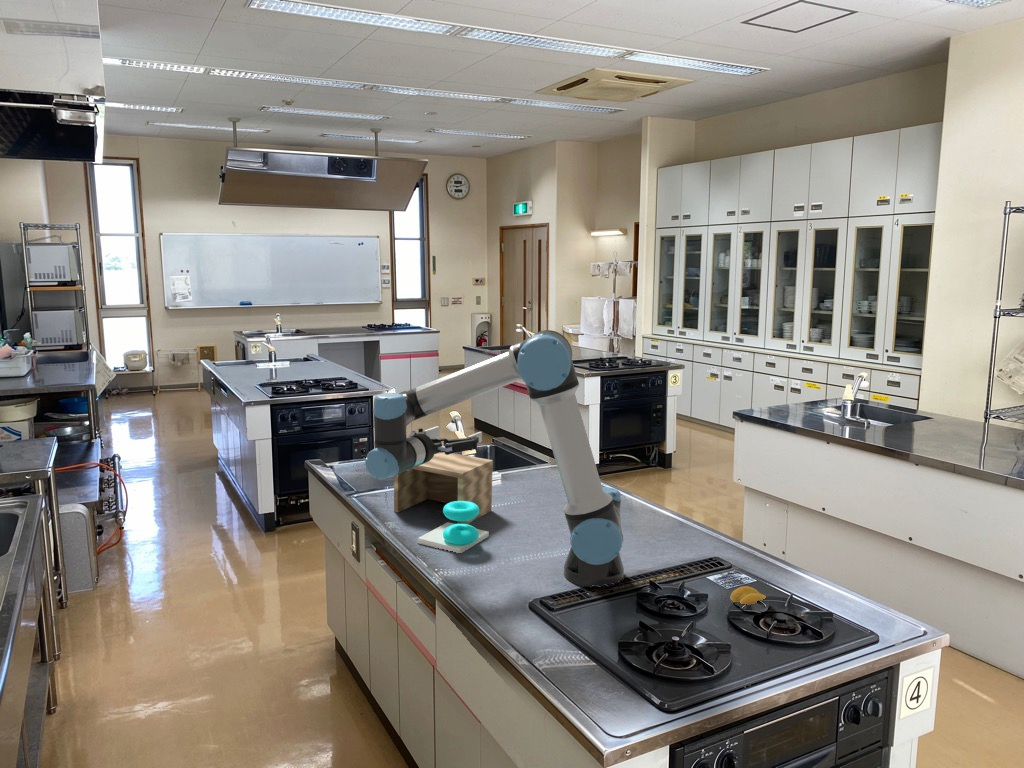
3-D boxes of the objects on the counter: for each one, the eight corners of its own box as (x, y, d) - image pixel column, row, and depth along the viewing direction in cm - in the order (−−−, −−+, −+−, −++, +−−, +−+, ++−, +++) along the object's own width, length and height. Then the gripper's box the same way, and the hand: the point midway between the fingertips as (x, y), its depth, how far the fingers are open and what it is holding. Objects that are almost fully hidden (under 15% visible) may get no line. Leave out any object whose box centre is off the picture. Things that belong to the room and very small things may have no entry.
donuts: (486, 504, 205) (464, 514, 197) (485, 538, 207) (463, 549, 199) (458, 497, 211) (435, 506, 203) (458, 530, 212) (435, 540, 204)
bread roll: (749, 617, 169) (750, 601, 168) (724, 600, 177) (725, 584, 176) (778, 612, 172) (779, 596, 171) (752, 595, 180) (753, 580, 179)
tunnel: (461, 527, 219) (462, 473, 216) (394, 511, 231) (394, 460, 228) (491, 510, 234) (492, 460, 231) (426, 496, 246) (427, 448, 243)
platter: (460, 554, 199) (460, 548, 199) (417, 543, 206) (417, 538, 206) (488, 536, 212) (488, 531, 212) (447, 527, 219) (447, 522, 219)
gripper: (374, 459, 190) (421, 441, 208) (457, 472, 179) (499, 452, 197) (373, 430, 189) (421, 415, 207) (457, 442, 177) (499, 425, 196)
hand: (459, 433), depth 202 cm, fingers open, 13 cm apart
